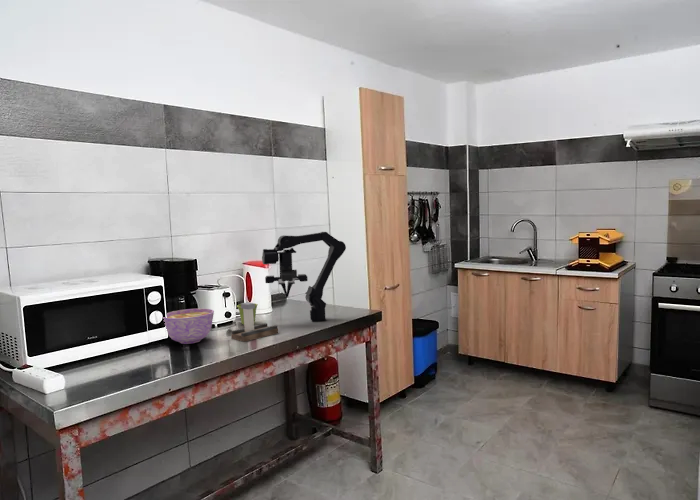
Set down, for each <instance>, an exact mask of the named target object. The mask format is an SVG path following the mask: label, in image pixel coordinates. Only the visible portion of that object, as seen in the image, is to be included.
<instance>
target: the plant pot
mask: <svg viewBox="0 0 700 500" xmlns="http://www.w3.org/2000/svg"><path fill="white" fill-rule="evenodd" d="M236 307H237V308H238V311H239V317H240V321H241V325H244V312H243V309H242V308H241V303H240V304H238V305H237V306H236ZM257 308H258V303H255V308H254V309H253V317H254V324H255V323H256V314H257Z"/></svg>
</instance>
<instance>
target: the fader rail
mask: <svg viewBox="0 0 700 500" xmlns="http://www.w3.org/2000/svg"><path fill="white" fill-rule="evenodd" d="M277 334H279V328H278V325H277V324H274V325H270V326H268V323H266V322H265V323H260V324H256V325H255V324H254V330H253V331H248V332H245V329H244V327H243V328H238V329H234V330H231V334H230V336H231V339H232V340H236V341H239V342H248V341H251V340H256V339H260V338H263V337H269V336H272V335H277Z"/></svg>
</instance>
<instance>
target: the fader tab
mask: <svg viewBox="0 0 700 500" xmlns="http://www.w3.org/2000/svg"><path fill="white" fill-rule="evenodd" d="M240 304H241V308H242V309H243V312H244V324H243V326H244V327H243V328H244V329H245V332H248V331H253V330H254V326H255V323H254V317H253V309H254V308H255V304H256V303H254V302H249V301H248V302H247V301H246V302H242V303H240Z"/></svg>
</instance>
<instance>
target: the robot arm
mask: <svg viewBox="0 0 700 500" xmlns="http://www.w3.org/2000/svg"><path fill="white" fill-rule="evenodd" d="M321 241H322V242H323V243H324V244H325V245H326V246H328V247H329V248H328V253H327V258H326V260H325V262H324V264H323V265H322V266H323V267H322V268H321V271H320V272H319V275H318V276H317V278H316V281H315V282H314V284H313V285H312V286H310V285H308V287H307V291H306V292H305V301H306V302H307V303H308V304H309V305H310V310H309V319H310V321H311V322H312V323H313V322H326V321H327V318H326V307H327V302H325V301H324V300H323V299H322V298H323V296H324V295H323V294H324V288H325V286H326V284H327V281H328V279H329V278H330V276H331V273H332V271H333V269H334V267H335V265H336V262H337V261H338V260H339V259H340V258H341V256H343V254H344V252H346V248H347V246H346V243H345V242H344V241H342V240H339V239H337V238H335V237H334V236H333V235H331V234H329V232H328V231H320V232H314V233H308V234H302V235H301V234H300V235H287V234H286V235H285V234H284V235H280V236H279V238H278V239H277V243H276V244H275V247H274V248H270V249H267V248H263V249H262V256H261V260H262V264H263V265H275V264H277V263H278V262H279V263H278V265H279V276H275V275H266V276H265V278H264V281H265V284H273V283H275V282H277V284H278V285H280V287H282V290H283V292H284V295H285V298H288V297H289V295H290V293H291V292H290V291H291V288H292V286H293V285H295V284H296V282H295V281H300V283H301V282H308V280H309V279H308V275H307V274H306V273H300V274H299V273H298V270H297V269H293V254H296V253H297V251H296V250H295V249H294V247H296V246H298V245H302V244H308V243H315V242H321ZM286 282H287V284H286ZM286 285H287V287H286Z"/></svg>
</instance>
